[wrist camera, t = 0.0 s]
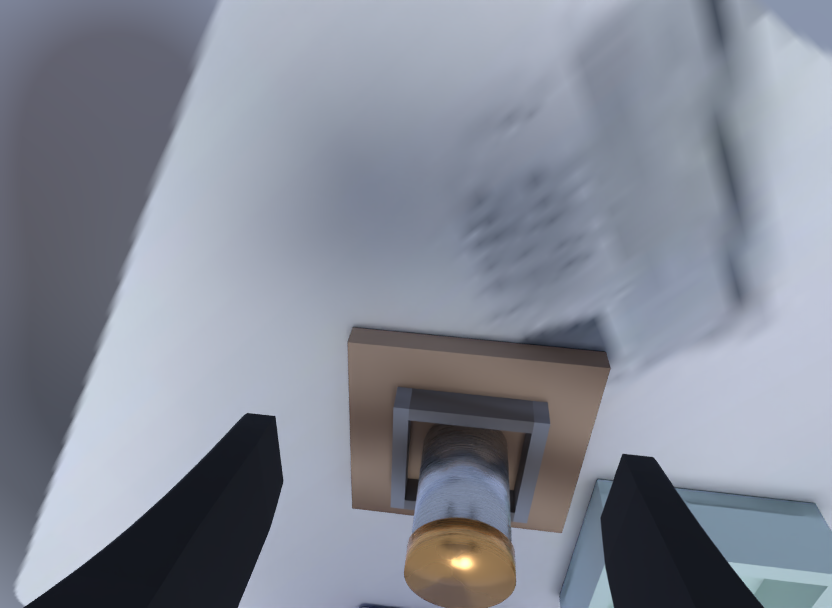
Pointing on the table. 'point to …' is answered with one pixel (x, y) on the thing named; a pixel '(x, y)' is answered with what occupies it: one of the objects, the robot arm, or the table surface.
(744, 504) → the bin
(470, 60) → the table surface
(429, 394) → the socket plate
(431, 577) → the metal can
